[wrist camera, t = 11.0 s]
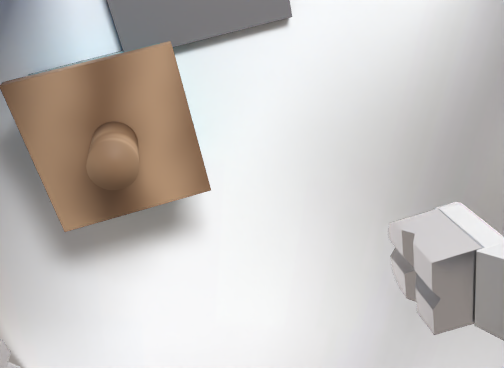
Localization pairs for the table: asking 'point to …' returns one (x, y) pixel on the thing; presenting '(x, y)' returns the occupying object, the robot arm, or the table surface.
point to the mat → (189, 19)
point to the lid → (109, 134)
